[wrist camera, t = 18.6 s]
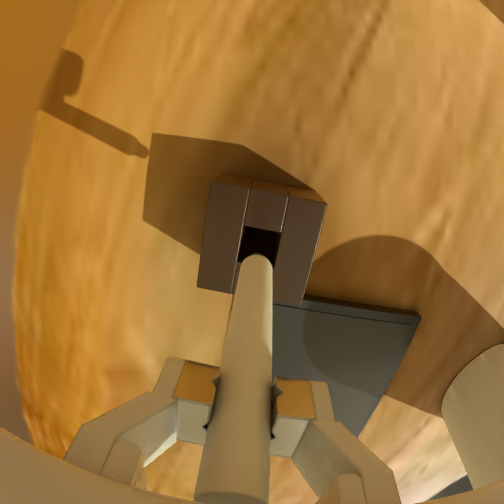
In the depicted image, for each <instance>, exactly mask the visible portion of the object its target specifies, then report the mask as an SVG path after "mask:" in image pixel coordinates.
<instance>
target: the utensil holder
mask: <svg viewBox="0 0 504 504" xmlns="http://www.w3.org/2000/svg"><path fill="white" fill-rule="evenodd" d="M441 413H442V417H443V419H444V421H445V424H446V426H447V428H448V431H449V433H450V435H451V438H452V440H453V442H454V444H455V447H456V449H457V451H458V453H459V455H460V458H461V460H462V462H463V465H464V467H465V469H466V472H467V474H468V477H469V479H470V482H471V484H472V486H473V489H478V488H481V487H484V486H487V485H490V484H493V483H496V482H499V481H501V480H504V343H503V344H499V345H496V346H494V347H491V348H490V349H488V350H486V351H484V352H483V353H481V354H480V355H479V356H477V357H476V358H475V359H473V360H472V361H471V362H470V363H469V364H468V365H466V366H465V367H464V368H463V370H462V371H461V372H460V373H459V374H458V375H457V376H456V378H455V379H454V380H453V382H452V383H451V385H450V386H449V388H448V390H447V392H446V393H445V396H444V398H443V401H442V406H441Z"/></svg>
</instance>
